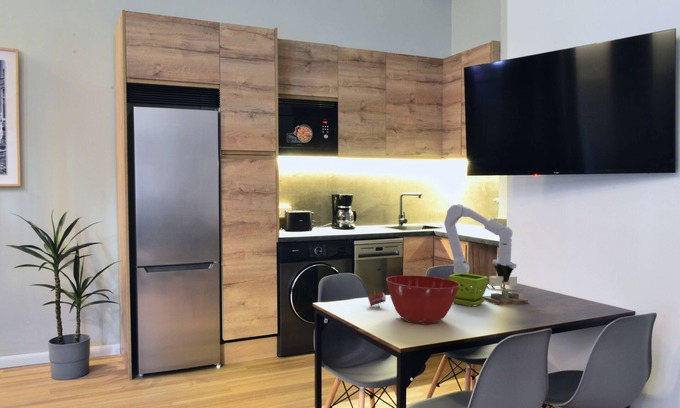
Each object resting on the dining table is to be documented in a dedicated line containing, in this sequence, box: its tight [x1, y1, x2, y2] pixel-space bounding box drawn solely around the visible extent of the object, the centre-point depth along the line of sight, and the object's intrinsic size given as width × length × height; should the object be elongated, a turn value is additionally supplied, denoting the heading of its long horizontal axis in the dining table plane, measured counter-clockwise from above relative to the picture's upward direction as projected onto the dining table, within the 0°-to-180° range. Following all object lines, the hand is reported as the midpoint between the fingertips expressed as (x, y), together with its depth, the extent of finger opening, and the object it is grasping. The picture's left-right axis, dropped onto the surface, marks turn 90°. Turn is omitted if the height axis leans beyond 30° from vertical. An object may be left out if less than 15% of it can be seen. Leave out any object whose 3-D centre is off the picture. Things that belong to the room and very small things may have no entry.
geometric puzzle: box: [367, 291, 387, 308], centre depth 236 cm, size 7×7×8 cm
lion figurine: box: [486, 273, 512, 290], centre depth 291 cm, size 15×5×9 cm, turn 104°
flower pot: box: [448, 273, 489, 307], centre depth 250 cm, size 14×14×13 cm
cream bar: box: [488, 275, 518, 287], centre depth 262 cm, size 14×3×4 cm, turn 114°
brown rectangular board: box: [482, 289, 529, 306], centre depth 258 cm, size 17×12×5 cm
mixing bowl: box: [385, 274, 460, 325], centre depth 216 cm, size 28×28×15 cm
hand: (503, 281), depth 262 cm, fingers closed on cream bar, 3 cm apart
